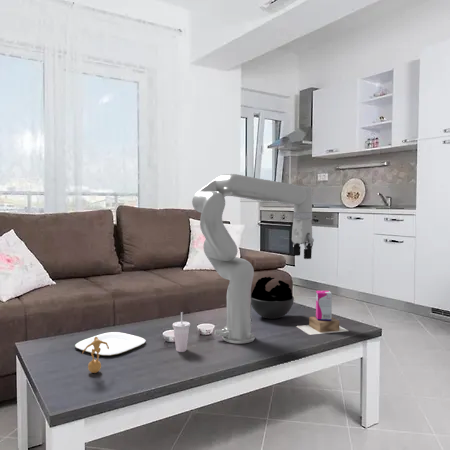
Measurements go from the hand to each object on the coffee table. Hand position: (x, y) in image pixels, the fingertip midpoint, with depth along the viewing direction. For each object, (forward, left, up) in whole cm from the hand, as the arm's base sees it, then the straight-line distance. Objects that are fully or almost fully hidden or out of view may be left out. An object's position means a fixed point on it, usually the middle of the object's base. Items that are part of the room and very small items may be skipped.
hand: (301, 257), depth 185 cm
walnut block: (+8, -5, -30) cm, 31 cm away
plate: (-78, 0, -31) cm, 84 cm away
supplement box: (+8, -5, -26) cm, 27 cm away
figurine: (-84, -25, -31) cm, 93 cm away
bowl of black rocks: (-6, +17, -31) cm, 35 cm away
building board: (+7, -5, -30) cm, 32 cm away
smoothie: (-54, -12, -31) cm, 63 cm away
